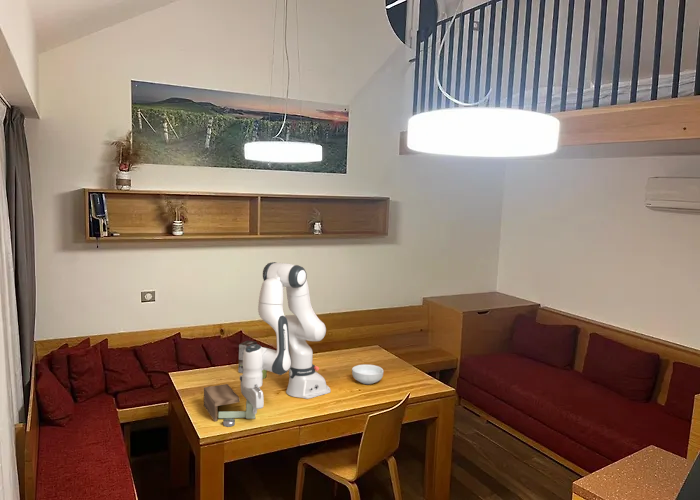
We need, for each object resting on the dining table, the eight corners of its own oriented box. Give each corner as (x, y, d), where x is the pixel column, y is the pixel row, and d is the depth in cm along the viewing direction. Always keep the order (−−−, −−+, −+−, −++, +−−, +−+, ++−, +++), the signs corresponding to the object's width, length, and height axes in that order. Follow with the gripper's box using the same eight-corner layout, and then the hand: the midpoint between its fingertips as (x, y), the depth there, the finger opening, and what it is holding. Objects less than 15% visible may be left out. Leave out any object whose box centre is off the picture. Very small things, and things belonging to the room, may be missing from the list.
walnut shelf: (227, 402, 265) (227, 384, 263) (239, 416, 249) (239, 397, 248) (203, 406, 259) (203, 387, 258) (214, 421, 243) (214, 402, 242)
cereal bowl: (387, 379, 302) (388, 367, 302) (375, 389, 287) (376, 376, 287) (359, 374, 309) (359, 361, 309) (346, 383, 294) (346, 370, 294)
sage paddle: (254, 414, 251) (255, 399, 250) (255, 418, 248) (255, 403, 247) (218, 415, 248) (219, 400, 247) (218, 419, 244) (219, 404, 243)
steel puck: (235, 422, 244) (235, 417, 244) (234, 427, 239) (234, 422, 239) (223, 422, 243) (223, 418, 243) (222, 427, 238) (222, 423, 238)
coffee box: (248, 374, 302) (248, 345, 300) (238, 372, 304) (238, 344, 302) (256, 369, 311) (257, 341, 308) (247, 367, 313) (247, 339, 311)
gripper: (267, 388, 240) (266, 418, 241) (251, 372, 257) (251, 401, 259) (253, 390, 236) (253, 421, 238) (238, 374, 254) (238, 403, 256)
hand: (251, 410), depth 249 cm, fingers closed on sage paddle, 5 cm apart
